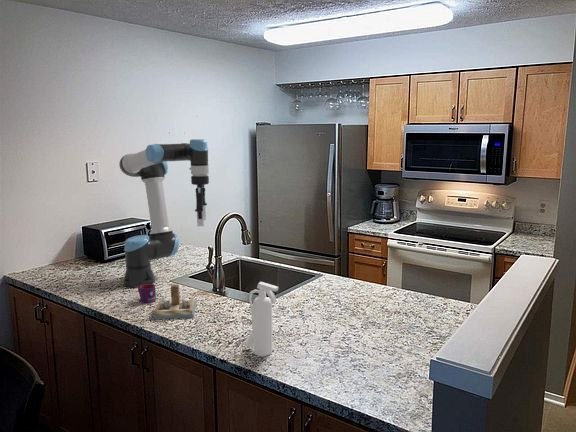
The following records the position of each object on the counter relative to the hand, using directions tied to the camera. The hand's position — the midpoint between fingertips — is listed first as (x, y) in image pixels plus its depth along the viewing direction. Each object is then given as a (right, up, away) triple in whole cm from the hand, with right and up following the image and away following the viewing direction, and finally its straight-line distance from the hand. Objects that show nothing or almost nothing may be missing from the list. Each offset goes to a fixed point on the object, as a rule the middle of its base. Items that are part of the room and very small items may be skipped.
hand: (201, 223), depth 204 cm
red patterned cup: (-26, -35, +4) cm, 44 cm away
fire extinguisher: (+29, -44, -45) cm, 69 cm away
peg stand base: (-9, -36, -11) cm, 39 cm away
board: (-9, -37, -9) cm, 39 cm away
